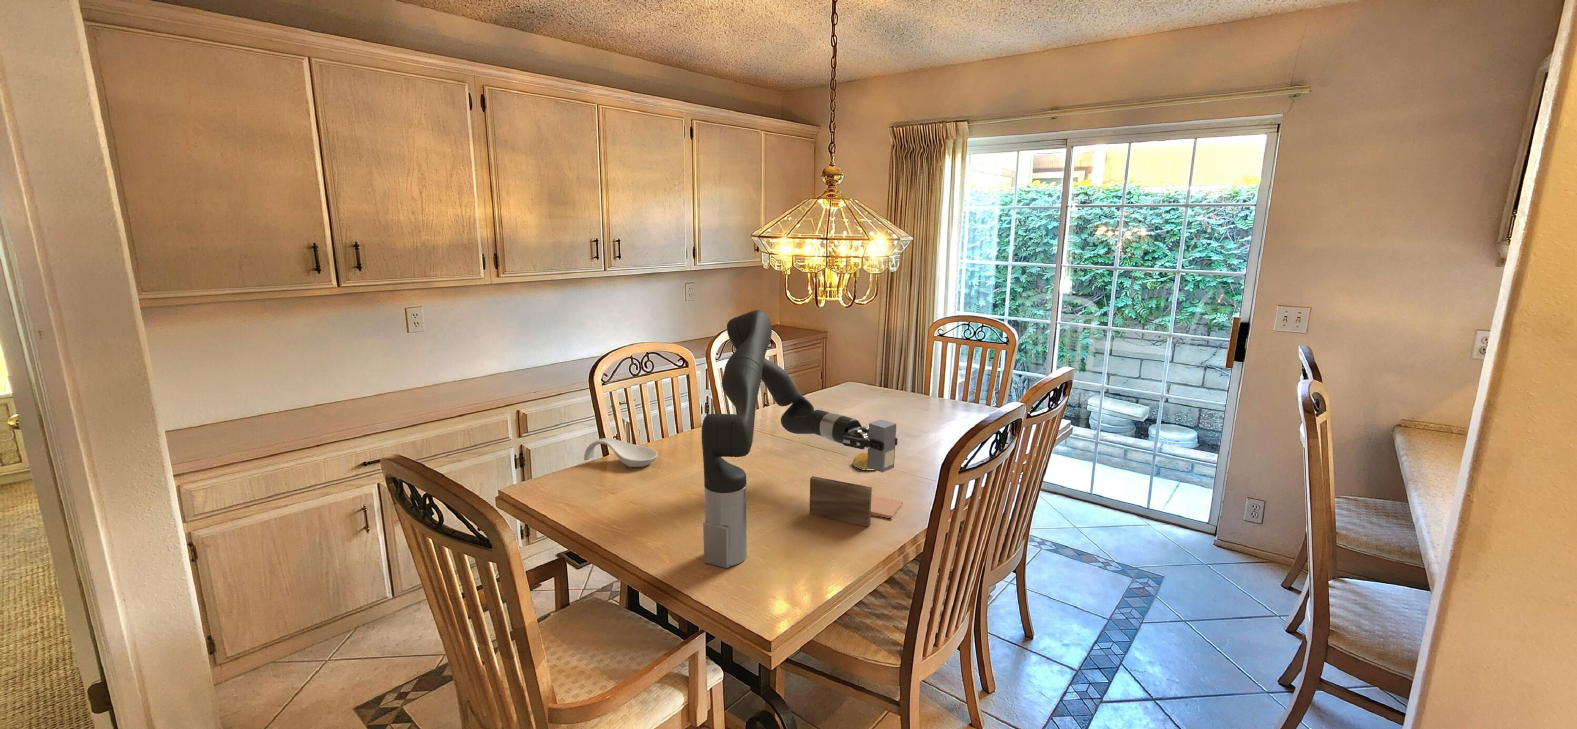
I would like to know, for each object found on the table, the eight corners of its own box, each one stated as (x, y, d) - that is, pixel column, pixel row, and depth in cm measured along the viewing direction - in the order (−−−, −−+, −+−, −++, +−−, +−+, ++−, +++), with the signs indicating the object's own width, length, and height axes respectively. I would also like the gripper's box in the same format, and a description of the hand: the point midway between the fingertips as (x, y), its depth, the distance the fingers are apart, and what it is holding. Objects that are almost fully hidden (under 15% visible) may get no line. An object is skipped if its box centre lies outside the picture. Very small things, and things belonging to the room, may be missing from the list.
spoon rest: (663, 460, 204) (663, 438, 203) (647, 473, 193) (646, 451, 192) (596, 453, 210) (595, 432, 208) (576, 466, 199) (575, 444, 197)
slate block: (894, 467, 168) (897, 423, 165) (882, 472, 164) (885, 428, 162) (878, 462, 171) (880, 419, 169) (867, 467, 168) (868, 423, 165)
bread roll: (873, 460, 206) (873, 448, 205) (883, 470, 197) (884, 458, 196) (848, 462, 204) (849, 450, 203) (858, 472, 195) (858, 460, 194)
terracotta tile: (891, 519, 164) (892, 515, 164) (854, 511, 168) (854, 508, 168) (902, 504, 173) (902, 501, 172) (867, 497, 177) (867, 494, 177)
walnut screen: (868, 527, 160) (869, 489, 157) (809, 514, 166) (810, 478, 164) (870, 524, 161) (871, 487, 159) (811, 512, 168) (812, 476, 166)
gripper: (822, 421, 171) (873, 436, 159) (857, 410, 181) (907, 424, 169) (822, 448, 172) (872, 465, 161) (856, 436, 182) (905, 451, 170)
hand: (889, 444), depth 165 cm, fingers closed on slate block, 5 cm apart
